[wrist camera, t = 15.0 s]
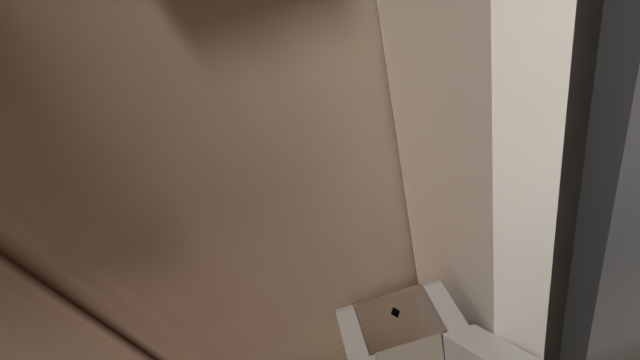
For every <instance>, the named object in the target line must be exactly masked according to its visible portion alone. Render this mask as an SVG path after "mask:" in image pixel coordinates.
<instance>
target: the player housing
mask: <svg viewBox="0 0 640 360" xmlns="http://www.w3.org/2000/svg"><path fill="white" fill-rule="evenodd" d="M559 360H640V0H604V6H603V14H602V22H601V30H600V38H599V46H598V54H597V62H596V69H595V77H594V85H593V93H592V101H591V109H590V117H589V125H588V133H587V141H586V149H585V157H584V165H583V173H582V181H581V189H580V197H579V205H578V213H577V221H576V229H575V237H574V245H573V253H572V261H571V269H570V277H569V285H568V293H567V301H566V309H565V317H564V324H563V332H562V340H561V348H560V356H559Z"/></svg>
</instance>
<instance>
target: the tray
mask: <svg viewBox="0 0 640 360" xmlns="http://www.w3.org/2000/svg"><path fill="white" fill-rule="evenodd" d="M376 1H377V7H378V14H379V21H380V28H381V35H382V42H383V48H384V55H385V62H386V69H387V76H388V83H389V89H390V96H391V103H392V110H393V117H394V123H395V130H396V137H397V144H398V151H399V158H400V164H401V171H402V178H403V185H404V192H405V199H406V205H407V212H408V219H409V226H410V233H411V239H412V246H413V253H414V260H415V267H416V274H417V280H418V284H421V283H424V282H428V281H431V280H434V279H439V280H441V281H442V283H443V284H444V286H445V288H446V289H447V291H448V292H449V294H450V296H451V297H452V299H453V300H454V302H455V303H456V305H457V307H458V308H459V310H460V311H461V313H462V315H463V316H464V318H465V319H466V321H467V322H468V324H469V325H473V324H476V325H478V326H480V327H482V328H483V329H485V330H487V331H489V332H491V333H493V334H494V335H496V336H498V337H500V338H502V339H504V340H506V341H508V342H509V343H511V344H513V345H515V346H517V347H519V348H520V349H522V350H524V351H526V352H528V353H530V354H532V355H533V356H535V357H537V358H539V359H541V360H559V356H560V348H561V340H562V332H563V324H564V317H565V309H566V301H567V293H568V285H569V277H570V269H571V261H572V253H573V245H574V237H575V229H576V221H577V213H578V205H579V197H580V189H581V181H582V173H583V165H584V157H585V149H586V141H587V133H588V125H589V117H590V109H591V101H592V93H593V85H594V77H595V69H596V62H597V54H598V46H599V38H600V30H601V22H602V14H603V6H604V0H376Z"/></svg>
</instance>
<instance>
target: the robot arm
mask: <svg viewBox="0 0 640 360" xmlns="http://www.w3.org/2000/svg"><path fill="white" fill-rule="evenodd" d="M335 314H336V318H337V322H338V326H339V330H340V333H341V337H342V341H343V345H344V349H345V353H346V356H347V360H541V359H539V358H537V357H535V356H533V355H532V354H530V353H528V352H526V351H524V350H522V349H520V348H519V347H517V346H515V345H513V344H511V343H509V342H508V341H506V340H504V339H502V338H500V337H498V336H496V335H494V334H493V333H491V332H489V331H487V330H485V329H483V328H482V327H480V326H478V325H476V324H473V325H469V324H468V322H467V321H466V319H465V318H464V316H463V315H462V313H461V311H460V310H459V308H458V307H457V305H456V303H455V302H454V300H453V299H452V297H451V296H450V294H449V292H448V291H447V289H446V288H445V286H444V284H443V283H442V281H441V280H439V279H434V280H431V281H428V282H424V283H421V284H417V285H414V286H411V287H407V288H404V289H401V290H398V291H395V292H391V293H388V294H385V295H383V296H379V297H376V298H372V299H368V300H365V301H361V302H357V303H354V304H351V305H347V306H344V307H340V308H336V309H335Z"/></svg>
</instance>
